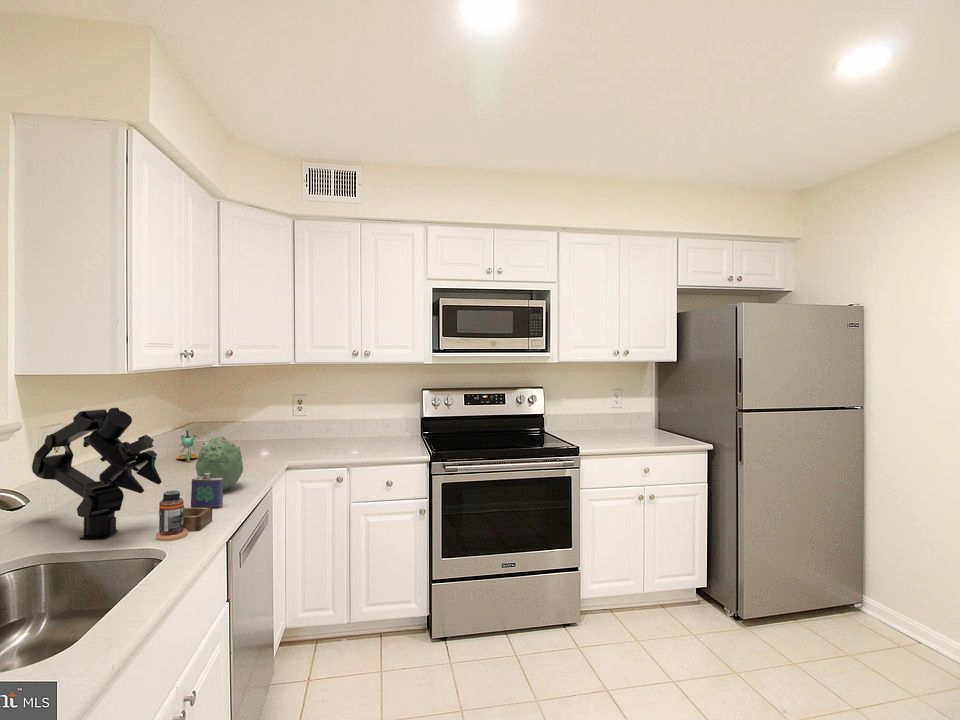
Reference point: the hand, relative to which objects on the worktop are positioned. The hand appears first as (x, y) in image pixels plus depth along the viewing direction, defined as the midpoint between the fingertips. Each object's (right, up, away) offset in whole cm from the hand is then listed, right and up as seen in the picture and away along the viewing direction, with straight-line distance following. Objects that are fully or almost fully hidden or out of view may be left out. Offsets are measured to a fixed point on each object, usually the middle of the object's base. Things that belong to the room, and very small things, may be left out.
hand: (151, 487), depth 146 cm
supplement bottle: (+5, -13, +1) cm, 14 cm away
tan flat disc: (+5, -14, +1) cm, 15 cm away
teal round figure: (-45, -11, +97) cm, 108 cm away
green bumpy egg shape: (-5, -13, +48) cm, 49 cm away
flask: (+1, -13, +27) cm, 30 cm away
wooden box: (+5, -14, +9) cm, 17 cm away
